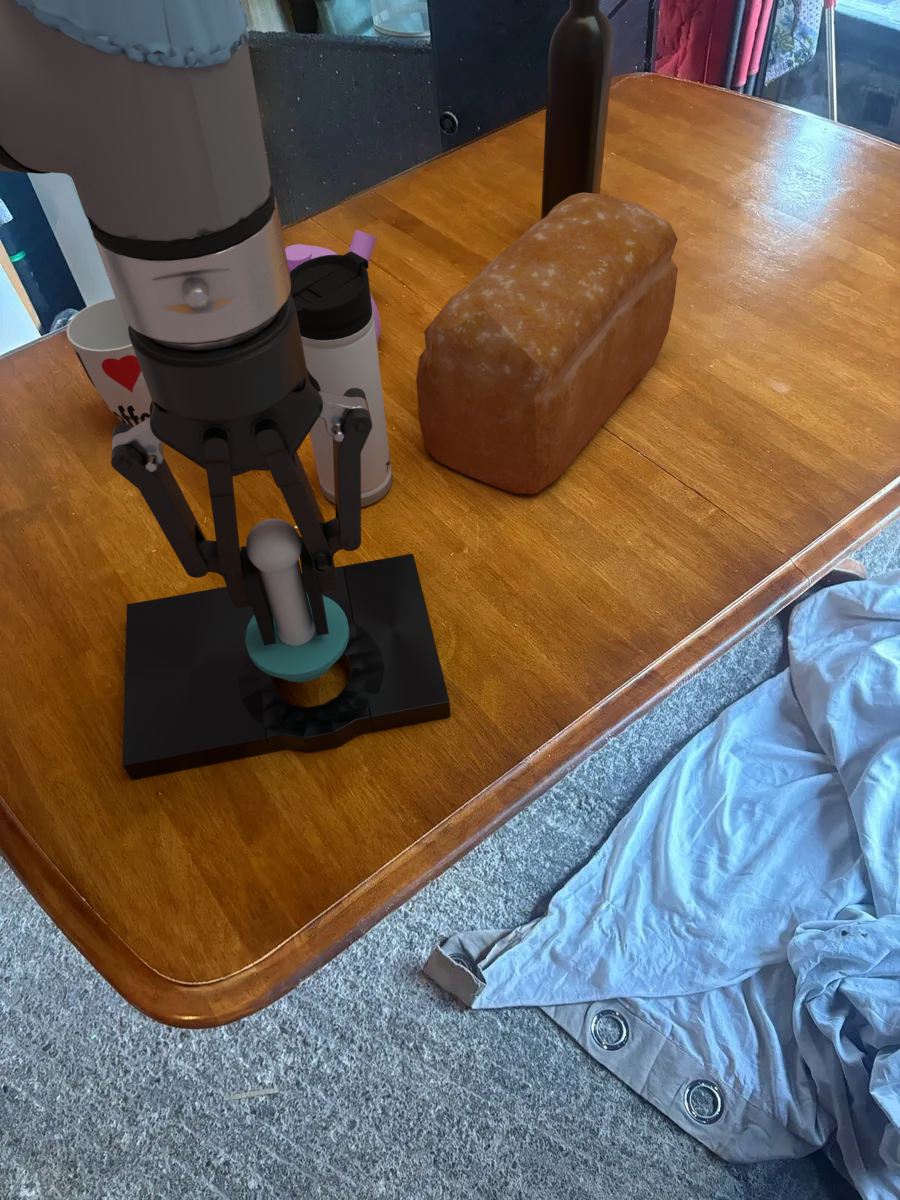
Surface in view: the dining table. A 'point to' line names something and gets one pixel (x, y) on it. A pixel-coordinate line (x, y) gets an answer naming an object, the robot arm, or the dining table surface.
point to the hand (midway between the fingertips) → (294, 622)
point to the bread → (547, 342)
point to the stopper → (290, 610)
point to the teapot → (359, 245)
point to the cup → (110, 360)
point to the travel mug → (343, 359)
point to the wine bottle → (576, 103)
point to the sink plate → (250, 696)
